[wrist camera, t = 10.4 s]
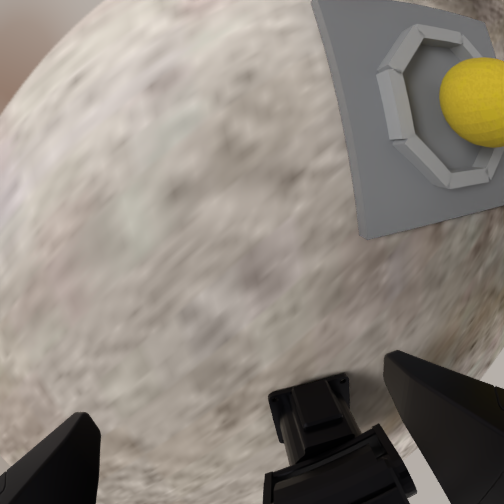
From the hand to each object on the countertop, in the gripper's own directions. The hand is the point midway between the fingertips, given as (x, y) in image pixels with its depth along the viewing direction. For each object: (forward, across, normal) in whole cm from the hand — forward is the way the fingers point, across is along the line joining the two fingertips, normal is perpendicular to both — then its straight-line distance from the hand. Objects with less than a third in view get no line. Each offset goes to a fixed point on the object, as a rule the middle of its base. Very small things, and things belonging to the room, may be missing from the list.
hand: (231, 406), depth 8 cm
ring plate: (+12, -17, -8) cm, 22 cm away
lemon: (+11, -17, -8) cm, 22 cm away
